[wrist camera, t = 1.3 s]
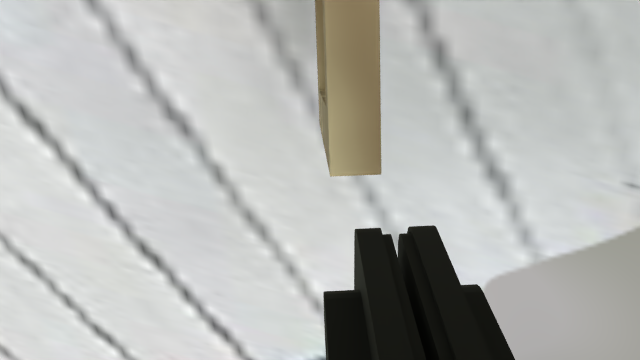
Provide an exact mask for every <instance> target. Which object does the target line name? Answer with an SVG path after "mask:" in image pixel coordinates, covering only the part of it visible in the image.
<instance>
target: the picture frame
mask: <svg viewBox="0 0 640 360" xmlns="http://www.w3.org/2000/svg"><path fill="white" fill-rule="evenodd" d="M315 12H316V39H317V66H318V94H319V121H320V128H321V133H322V138H323V143H324V148H325V153H326V157H327V162H328V167H329V172H330V176H353V175H378V174H381V111H380V22H379V0H315Z"/></svg>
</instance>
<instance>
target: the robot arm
mask: <svg viewBox="0 0 640 360" xmlns="http://www.w3.org/2000/svg"><path fill="white" fill-rule="evenodd" d="M324 323H325V345H326V360H515V359H514V356H513V354H512V352H511V350H510V348H509V346H508V344H507V342H506V339H505V337H504V335H503V333H502V331H501V329H500V327H499V325H498V323H497V320H496V319H495V316H494V314H493V312H492V310H491V308H490V306H489V304H488V302H487V299H486V297H485V295H484V293H483V291H482V289H481V288H480V286H478V285H477V284H476V285H461V284H460V282H459V280H458V277H457V275H456V273H455V270H454V268H453V266H452V263H451V261H450V259H449V256H448V254H447V252H446V249H445V247H444V244H443V242H442V240H441V237H440V235H439V233H438V230H437V228H436V227H435V226H414V227H409V228H408V232H407V234H399V240H398V257H397V254H396V250H395V247H394V243H393V240H392V236H391V234H384V235H382V231H381V228H369V229H355V254H354V290H347V291H326V292H324Z"/></svg>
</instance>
